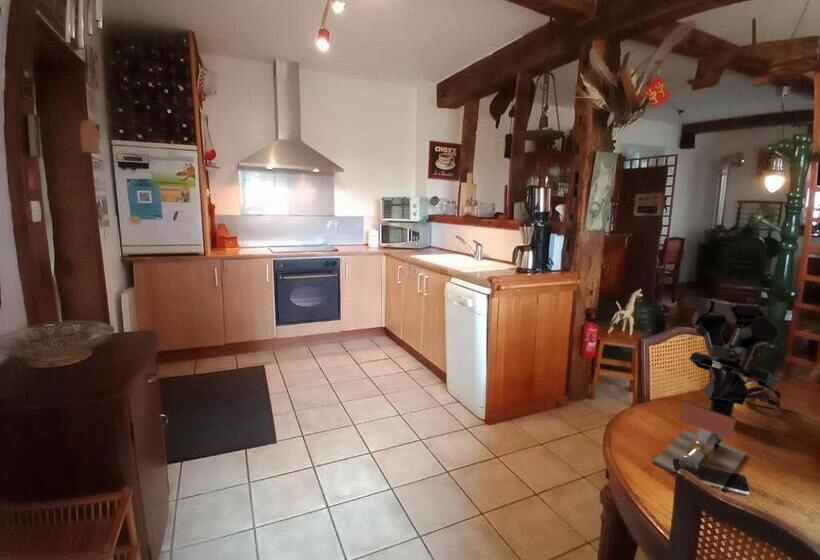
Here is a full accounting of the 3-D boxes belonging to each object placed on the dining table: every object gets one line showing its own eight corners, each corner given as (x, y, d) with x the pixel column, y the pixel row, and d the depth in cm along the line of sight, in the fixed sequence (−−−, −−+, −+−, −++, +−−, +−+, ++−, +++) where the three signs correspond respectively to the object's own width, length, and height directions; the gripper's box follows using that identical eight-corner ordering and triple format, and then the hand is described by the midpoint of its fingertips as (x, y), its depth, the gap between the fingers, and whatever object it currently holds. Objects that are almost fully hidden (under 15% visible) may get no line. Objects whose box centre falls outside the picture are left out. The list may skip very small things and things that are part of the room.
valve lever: (677, 434, 109) (684, 400, 108) (728, 454, 100) (736, 418, 99) (675, 435, 108) (682, 401, 107) (727, 455, 100) (734, 419, 98)
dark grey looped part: (774, 421, 126) (761, 395, 127) (743, 419, 135) (731, 395, 136) (797, 405, 130) (783, 380, 131) (765, 404, 139) (753, 381, 140)
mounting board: (684, 432, 118) (684, 429, 118) (745, 455, 108) (746, 452, 108) (652, 463, 104) (652, 460, 104) (719, 493, 93) (720, 490, 93)
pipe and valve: (703, 438, 114) (705, 425, 113) (722, 446, 110) (724, 432, 109) (676, 467, 101) (678, 453, 100) (697, 477, 98) (700, 462, 97)
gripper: (692, 325, 119) (668, 373, 117) (770, 342, 102) (744, 397, 100) (709, 343, 124) (687, 389, 122) (786, 361, 107) (762, 415, 105)
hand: (717, 396), depth 112 cm, fingers closed
